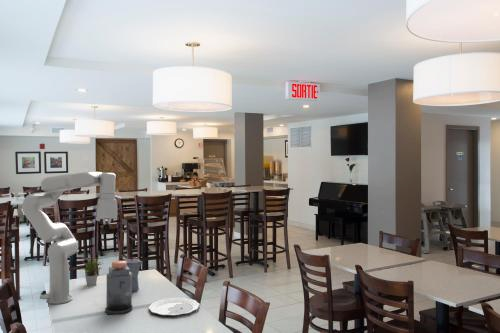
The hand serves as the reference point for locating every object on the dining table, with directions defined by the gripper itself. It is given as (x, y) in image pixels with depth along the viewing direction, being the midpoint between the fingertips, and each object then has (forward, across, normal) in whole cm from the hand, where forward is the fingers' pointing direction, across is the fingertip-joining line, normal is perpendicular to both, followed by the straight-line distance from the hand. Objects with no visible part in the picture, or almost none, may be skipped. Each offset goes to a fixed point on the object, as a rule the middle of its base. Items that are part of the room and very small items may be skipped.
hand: (106, 231), depth 217 cm
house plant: (+39, -2, +36) cm, 53 cm away
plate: (+37, +31, -23) cm, 53 cm away
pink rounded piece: (+19, +5, -12) cm, 23 cm away
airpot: (+37, +5, -13) cm, 40 cm away
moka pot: (+38, +16, +17) cm, 45 cm away
